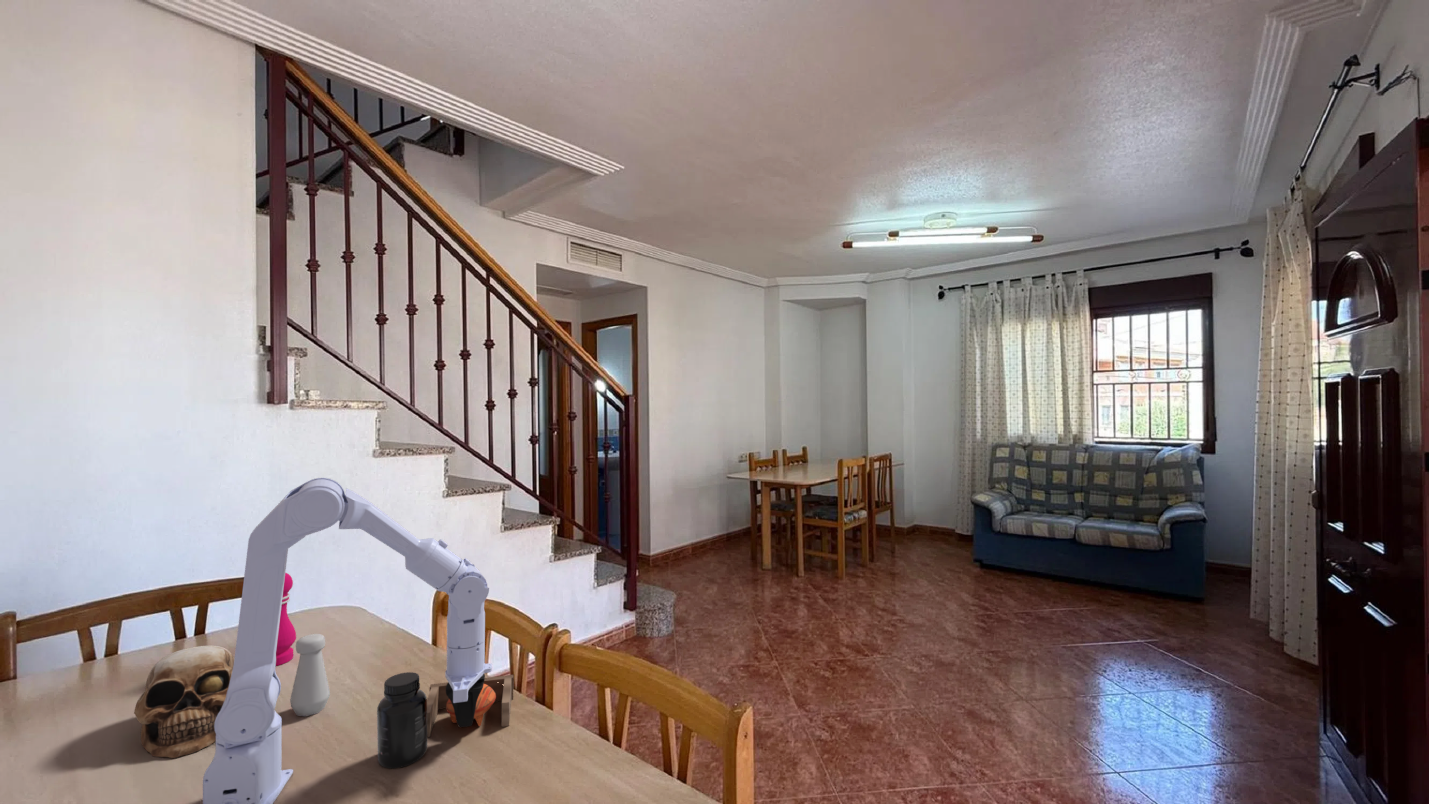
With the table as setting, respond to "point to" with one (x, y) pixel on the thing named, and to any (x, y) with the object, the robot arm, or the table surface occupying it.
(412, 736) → the supplement bottle
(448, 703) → the pot
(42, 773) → the table surface
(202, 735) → the skull
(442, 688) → the cradle
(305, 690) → the salt shaker
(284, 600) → the pepper mill
